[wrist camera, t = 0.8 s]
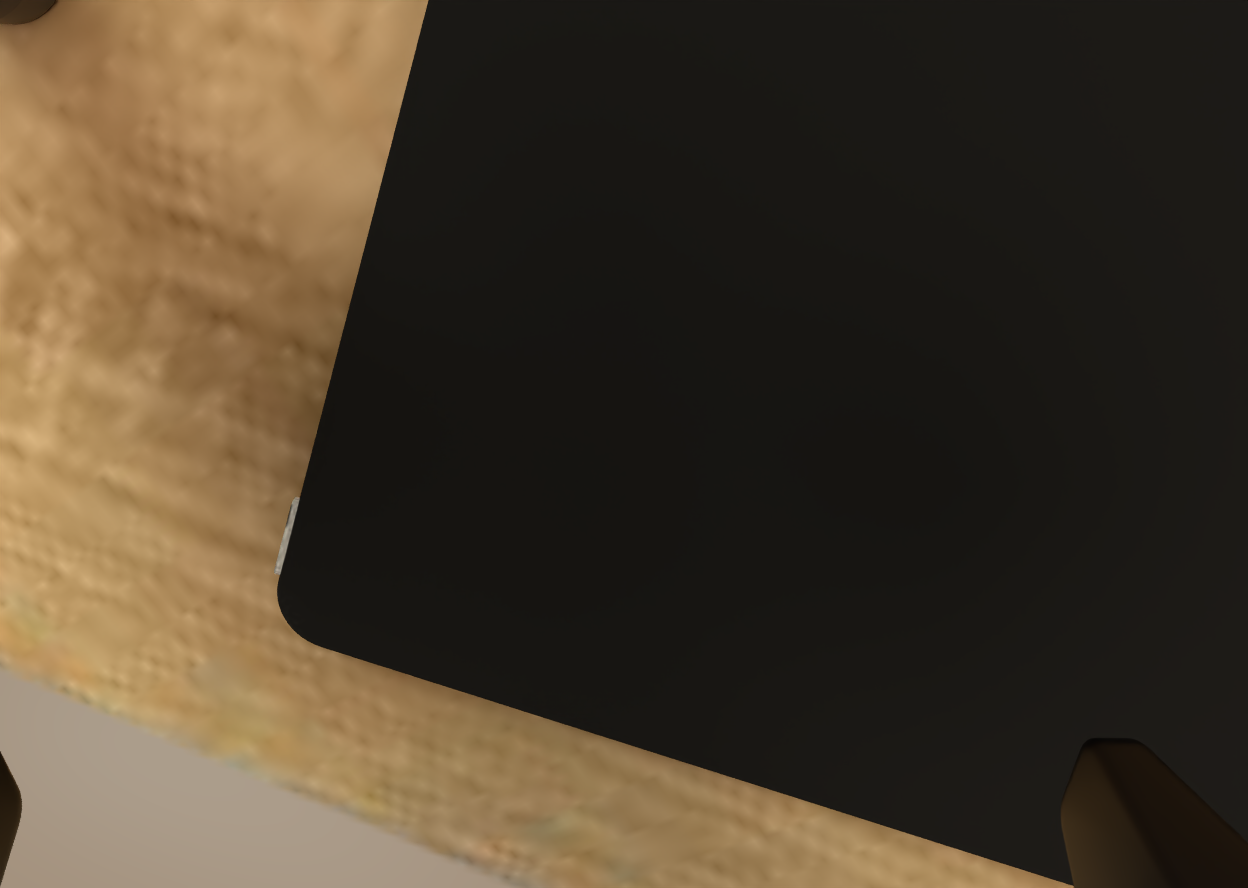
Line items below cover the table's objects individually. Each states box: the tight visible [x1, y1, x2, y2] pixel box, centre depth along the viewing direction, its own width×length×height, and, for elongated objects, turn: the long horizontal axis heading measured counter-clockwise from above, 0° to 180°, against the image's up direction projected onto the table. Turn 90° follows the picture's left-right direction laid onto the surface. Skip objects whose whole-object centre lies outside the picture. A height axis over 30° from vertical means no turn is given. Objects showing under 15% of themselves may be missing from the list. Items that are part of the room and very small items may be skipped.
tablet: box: [274, 0, 1248, 886], centre depth 22 cm, size 27×1×20 cm
